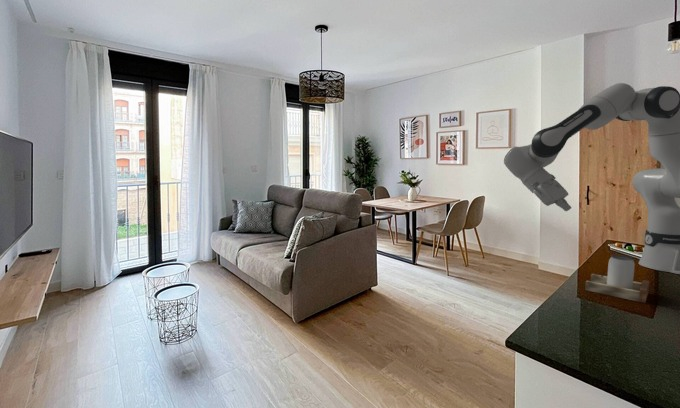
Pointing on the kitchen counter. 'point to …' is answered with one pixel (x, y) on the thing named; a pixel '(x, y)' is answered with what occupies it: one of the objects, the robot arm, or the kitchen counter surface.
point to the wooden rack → (618, 288)
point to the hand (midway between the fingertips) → (569, 209)
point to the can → (621, 271)
